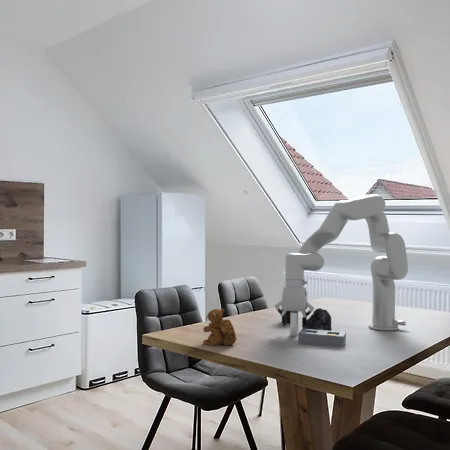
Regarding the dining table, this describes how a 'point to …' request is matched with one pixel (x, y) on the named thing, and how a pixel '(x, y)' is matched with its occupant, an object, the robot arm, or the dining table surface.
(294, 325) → the plug
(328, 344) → the socket block
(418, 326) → the dining table surface
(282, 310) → the coffee mug
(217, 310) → the stuffed squirrel
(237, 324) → the dining table surface
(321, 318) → the black rock
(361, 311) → the dining table surface
